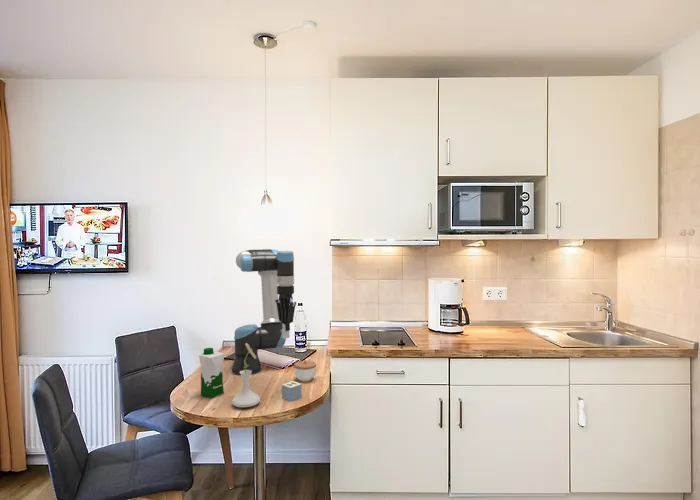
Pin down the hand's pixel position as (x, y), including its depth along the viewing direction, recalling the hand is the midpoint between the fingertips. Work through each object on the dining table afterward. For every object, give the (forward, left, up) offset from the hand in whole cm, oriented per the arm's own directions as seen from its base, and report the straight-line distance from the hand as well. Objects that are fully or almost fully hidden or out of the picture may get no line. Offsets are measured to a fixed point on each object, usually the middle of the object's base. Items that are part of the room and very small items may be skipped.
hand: (286, 337), depth 184 cm
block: (+7, -2, -19) cm, 20 cm away
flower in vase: (-1, -20, -25) cm, 32 cm away
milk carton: (-21, -25, -25) cm, 41 cm away
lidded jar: (-7, +16, -25) cm, 30 cm away
